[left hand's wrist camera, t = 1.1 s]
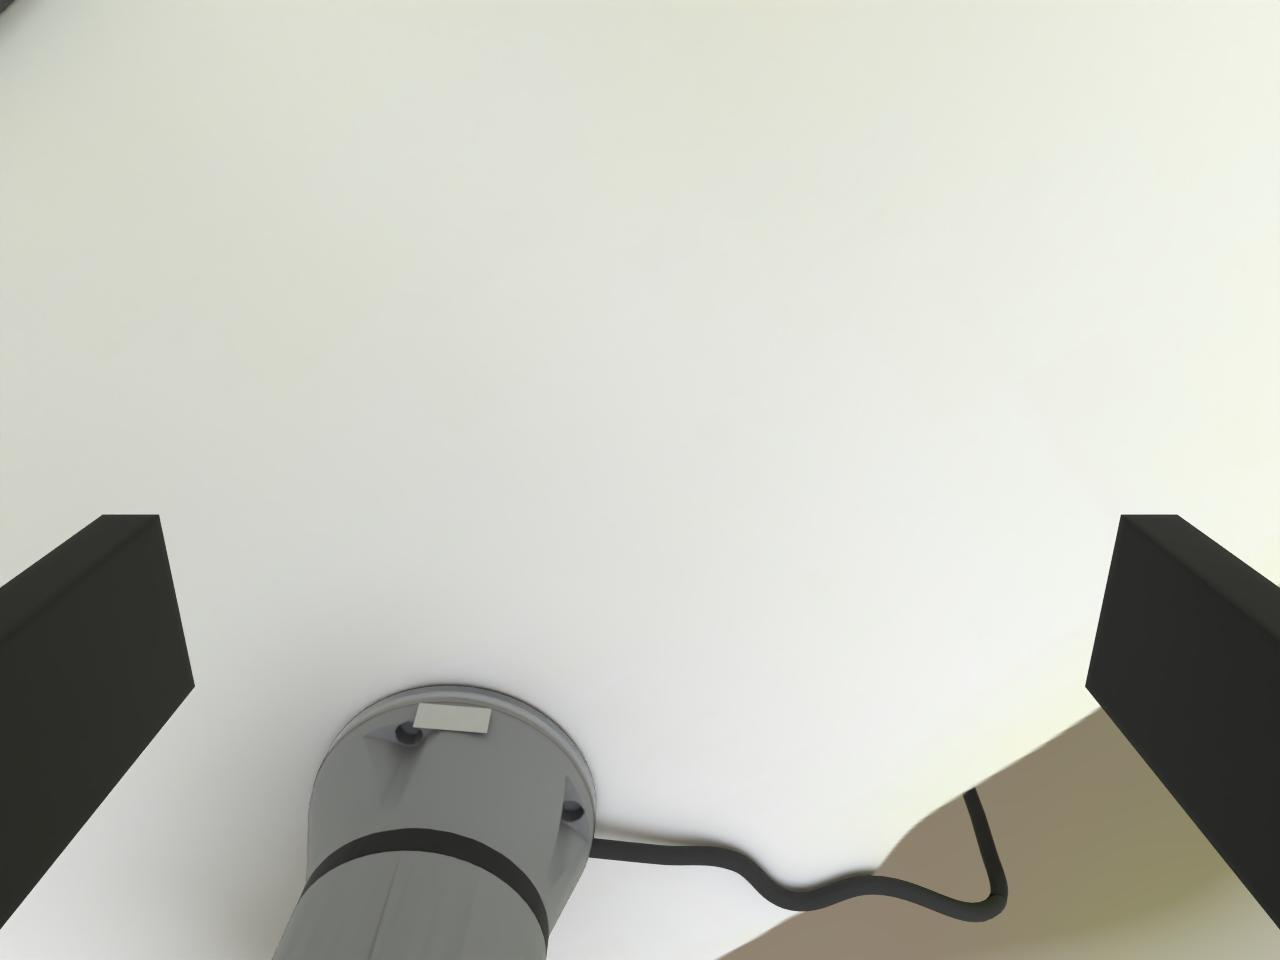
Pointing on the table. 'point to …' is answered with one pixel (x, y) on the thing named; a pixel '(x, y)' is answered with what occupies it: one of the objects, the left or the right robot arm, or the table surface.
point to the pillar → (4, 4)
